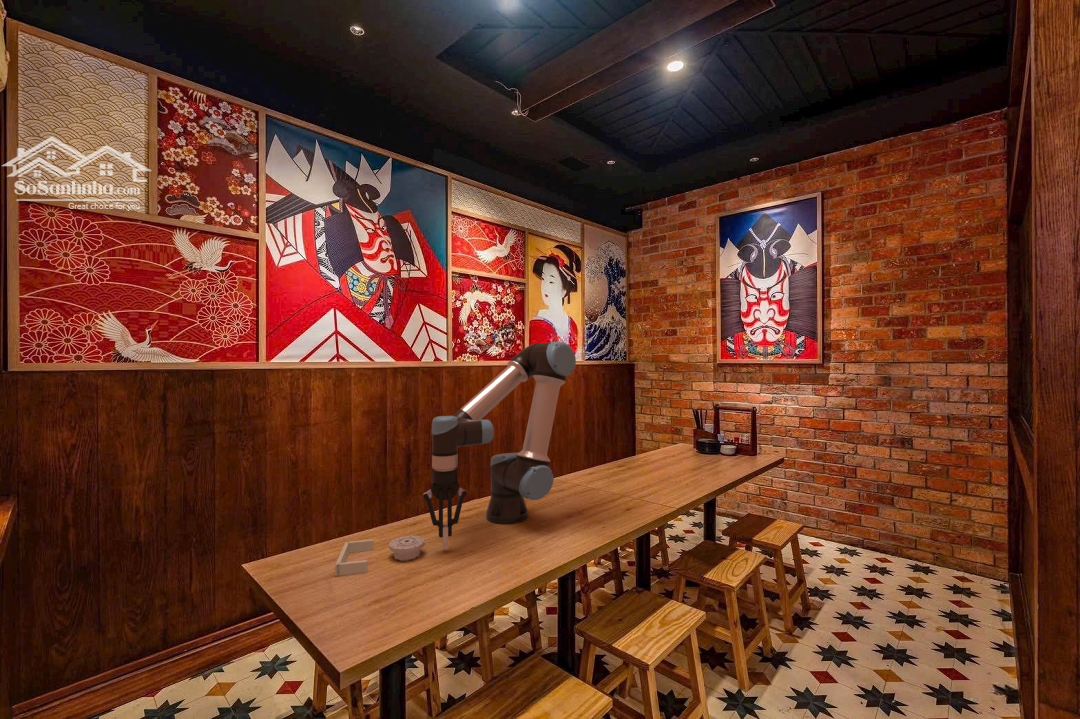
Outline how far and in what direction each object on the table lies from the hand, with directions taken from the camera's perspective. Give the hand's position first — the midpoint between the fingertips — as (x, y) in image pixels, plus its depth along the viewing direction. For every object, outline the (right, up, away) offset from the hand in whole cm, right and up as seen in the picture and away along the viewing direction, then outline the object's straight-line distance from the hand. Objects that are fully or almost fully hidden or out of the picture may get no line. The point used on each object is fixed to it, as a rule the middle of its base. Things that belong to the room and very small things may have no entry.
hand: (445, 547), depth 137 cm
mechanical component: (-16, +1, -2) cm, 16 cm away
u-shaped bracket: (-23, -2, -6) cm, 24 cm away
